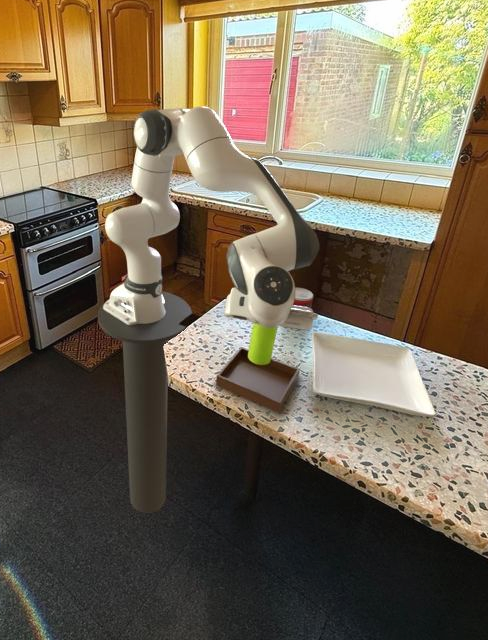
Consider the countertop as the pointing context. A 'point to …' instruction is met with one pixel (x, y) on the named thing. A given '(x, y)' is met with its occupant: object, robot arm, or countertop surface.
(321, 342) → the square plate
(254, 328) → the soap dispenser
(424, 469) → the countertop surface
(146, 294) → the robot arm
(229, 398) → the countertop surface
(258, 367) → the tray
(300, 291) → the canned food
